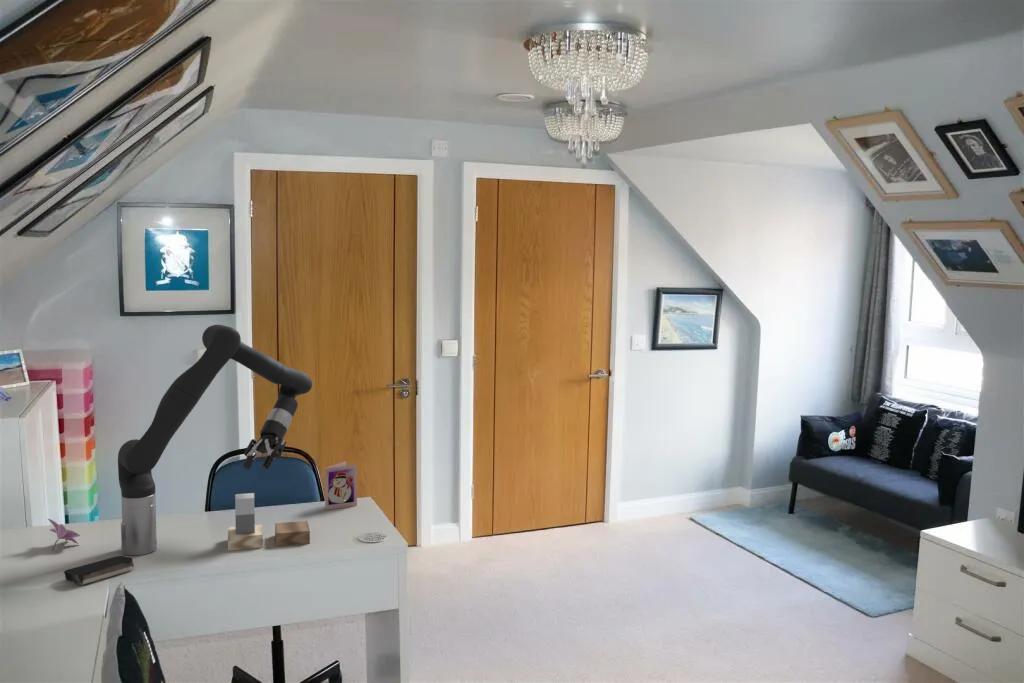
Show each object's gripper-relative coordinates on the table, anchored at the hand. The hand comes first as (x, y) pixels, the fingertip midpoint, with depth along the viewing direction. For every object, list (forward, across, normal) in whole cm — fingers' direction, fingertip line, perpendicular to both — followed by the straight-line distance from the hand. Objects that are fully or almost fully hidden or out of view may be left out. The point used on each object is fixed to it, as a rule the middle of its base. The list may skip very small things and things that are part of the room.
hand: (255, 468), depth 253 cm
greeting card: (-11, -3, +43) cm, 45 cm away
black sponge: (+46, -16, -18) cm, 52 cm away
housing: (+18, -1, +8) cm, 19 cm away
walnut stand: (+14, +8, +19) cm, 25 cm away
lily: (+37, -44, -16) cm, 60 cm away
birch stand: (+20, -2, +11) cm, 23 cm away
